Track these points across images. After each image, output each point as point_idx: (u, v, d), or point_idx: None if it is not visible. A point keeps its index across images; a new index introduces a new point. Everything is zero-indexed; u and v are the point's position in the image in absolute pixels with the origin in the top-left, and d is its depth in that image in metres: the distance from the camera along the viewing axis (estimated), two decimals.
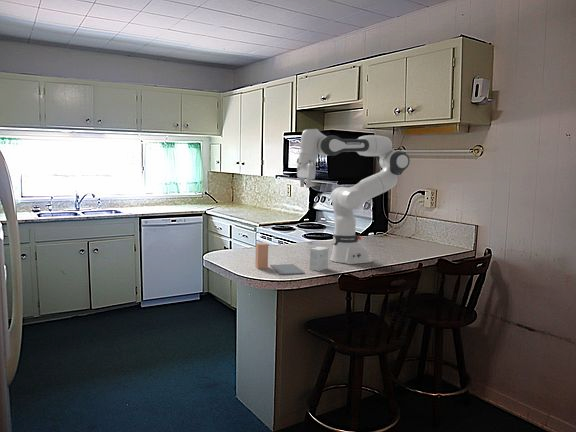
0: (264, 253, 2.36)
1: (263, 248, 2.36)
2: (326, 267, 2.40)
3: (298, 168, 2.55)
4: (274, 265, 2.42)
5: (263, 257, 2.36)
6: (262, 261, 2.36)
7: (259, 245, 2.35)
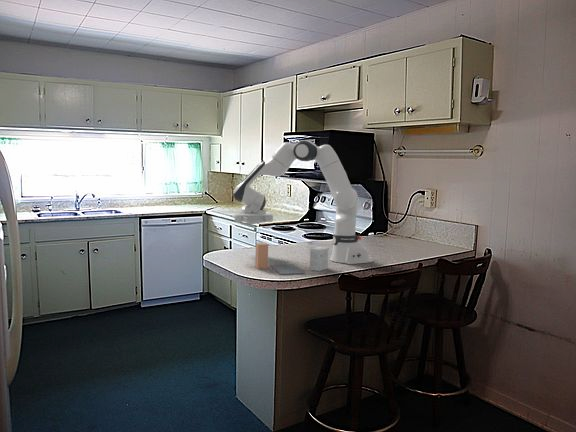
0: (264, 253, 2.36)
1: (263, 248, 2.36)
2: (326, 267, 2.40)
3: None
4: (274, 265, 2.42)
5: (263, 257, 2.36)
6: (262, 261, 2.36)
7: (259, 245, 2.35)
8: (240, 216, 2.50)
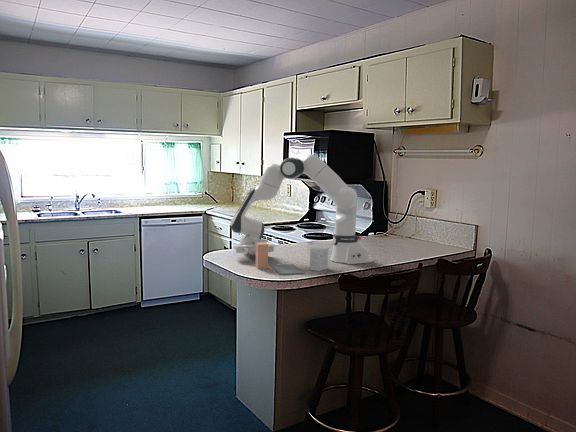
0: (264, 253, 2.36)
1: (263, 248, 2.36)
2: (326, 267, 2.40)
3: None
4: (274, 265, 2.42)
5: (263, 257, 2.36)
6: (262, 261, 2.36)
7: (259, 245, 2.35)
8: (241, 247, 2.49)
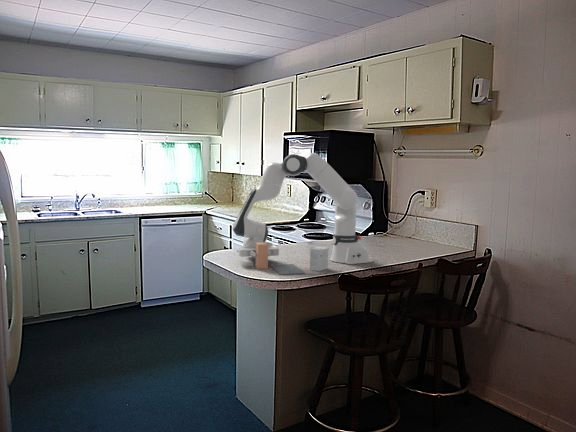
0: (264, 253, 2.36)
1: (263, 248, 2.36)
2: (326, 267, 2.40)
3: None
4: (274, 265, 2.42)
5: (263, 257, 2.36)
6: (262, 261, 2.36)
7: (259, 245, 2.35)
8: (245, 251, 2.40)
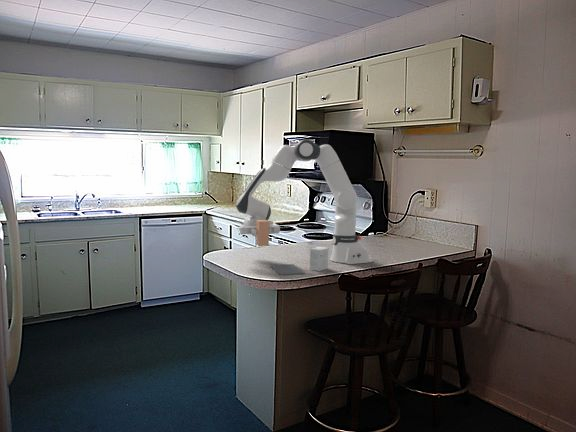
0: (265, 230, 2.35)
1: (264, 225, 2.34)
2: (326, 267, 2.40)
3: None
4: (274, 265, 2.42)
5: (264, 234, 2.35)
6: (263, 238, 2.35)
7: (260, 222, 2.34)
8: (245, 228, 2.38)
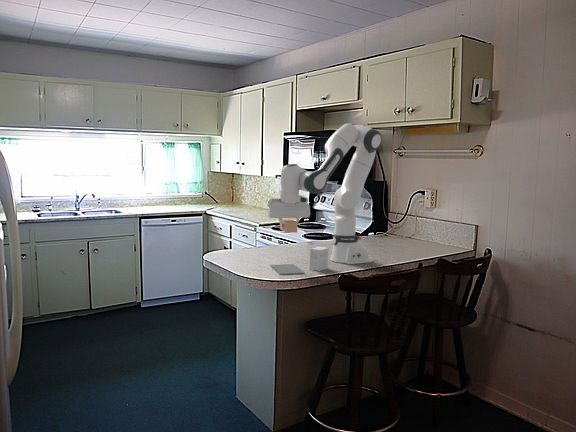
0: None
1: None
2: (326, 267, 2.40)
3: None
4: (274, 265, 2.42)
5: None
6: None
7: (287, 232, 2.28)
8: None
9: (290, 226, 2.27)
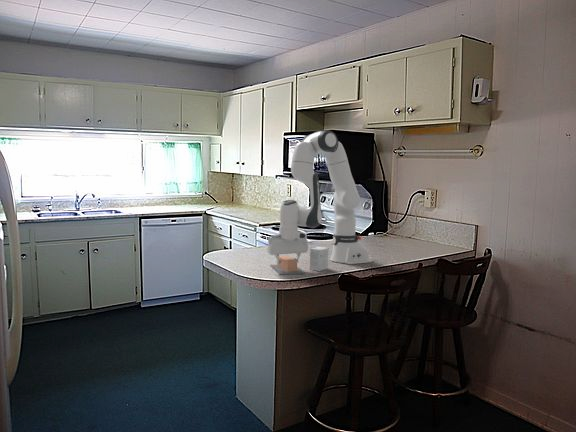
0: None
1: None
2: (326, 267, 2.40)
3: None
4: (274, 265, 2.42)
5: None
6: None
7: None
8: (274, 254, 2.30)
9: (291, 265, 2.30)
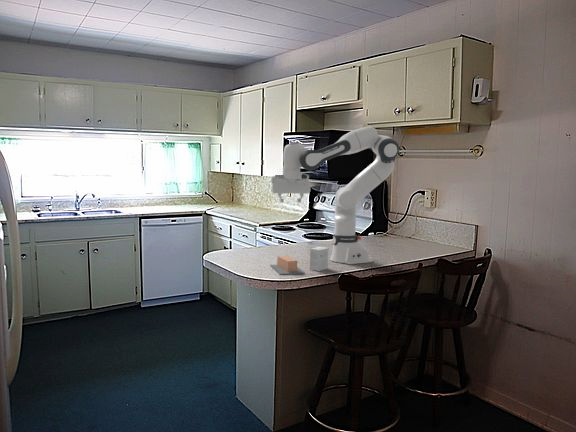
0: None
1: None
2: (326, 267, 2.40)
3: None
4: (274, 265, 2.42)
5: None
6: None
7: None
8: None
9: (291, 265, 2.30)
